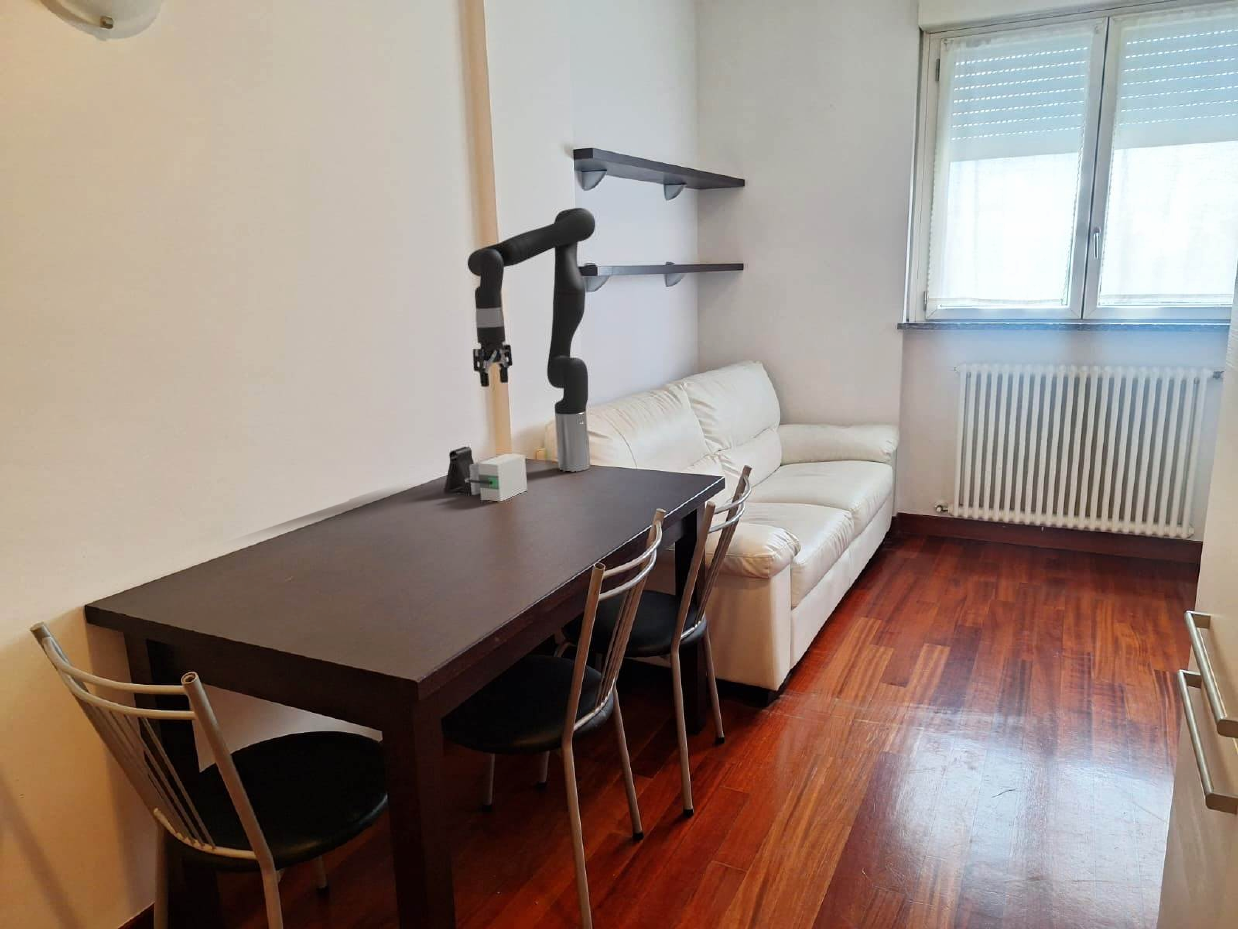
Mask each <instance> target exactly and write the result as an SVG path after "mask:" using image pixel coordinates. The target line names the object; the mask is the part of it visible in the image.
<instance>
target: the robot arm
mask: <svg viewBox="0 0 1238 929" xmlns="http://www.w3.org/2000/svg"><path fill="white" fill-rule="evenodd" d="M595 229H596V219H595V216H594V215H593V214H592V212H591V211H590V210H588V209H586V208H583V207H574V208H568V209H564V210H562V211H559V213H558V214H556V216H555V218H554V222H553V223H552V224H548V225H546V226H542V227H539V228H535V229H533V230H532V229H531V230H529V231H525V232H522V233H520V234H519V233H518V234H517V235H514V236H512V237H510V238H507V239H505V240H503V241H501V242H498V243H495V244H492V245H488V246H484V247H481V248H479V249H477V250H474V251H473V252H472V253H470V255H469V257H468V259H467V268H468V270H469V271H470V273H471V274H472V275H474V276H476V277H479V278H480V279H479V280H480V283H479V286H477V287H476V288H475V290H474V299H475V300H474V301H475V324H476V325H475V326H476V327H475V328H476V338H477V343H478V344H480V348H473V349H472V361H473V371H474V372H477V373H479V379H480V386H481V387H483V388H488V387H489V386H490V380H489V379H490V377H489V369H490V367H491V366H492V365H493V364H497V366H498V368H499V382H500V383H502V384H503V383H504V384H505V383H508V382H509V371H508V369H509V368H510V367H512V366H513V355H512V347H511V344H506V343H505V342H506V331H505V330H506V328H505V316H504V311H503V302H502V293H501V292H502V288H503V287H502V286H503V281H504V280H503V279H504V274H505V272H504V271H505V269H504V268H505V267H513V266H515V265H518V264H521V263H523V262H525V261H528V260H529V259H532V258H534V257H537V256H538V255H539V256H540V255H541V254H543V253H544V252H547V251H549V250H552V249H554V284H553V294H552V295H553V297H552V299H553V300H552V321H551V323H552V324H551V335H550V336H551V338H550V347H549V351H548V358H547V359H548V360H547V365H546V376H547V379H548V382H549V384H550V386H552V387H554V388H556V389H563V397H562V399H560V400H558V401H557V402H555V404H554V418H555V419H554V420H555V421H554V422H555V432H556V434H555V435H556V436H555V437H556V449H557V450H556V451H557V465H558V467H557V468H559V469H560V470H563V471H562V472H565V471H571V472H570V473H572V472H574V473H575V471H576V472H583V471H586V470H588V469H589V468H590V467H591V457H590V456H591V454H590V440H589V439H590V437H589V435H588V422H587V421H588V420H587V404H588V401H589V372H588V368H587V365H586V363H585V361H584V360H583V359H581V358H579V357H571V348H572V342H573V338H574V335H575V333H576V331H577V329H578V327H579V325H580V324H581V322H582V319H583V317H584V314H585V305H586V287H585V283H584V279H583V276H582V274H581V271H580V268H579V264H578V244H579V242H583V241H586V240H589V238H591V237H592V235H593V234H594V232H595ZM504 343H505V344H504ZM507 360H508V361H507ZM478 364H479V365H478ZM559 469H558V470H559ZM560 470H559V471H560ZM582 470H583V471H582Z"/></svg>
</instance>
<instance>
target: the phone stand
mask: <svg viewBox="0 0 1238 929" xmlns="http://www.w3.org/2000/svg"><path fill="white" fill-rule="evenodd" d="M472 453H473V452H472V448H471V447H470V446H463V447H460V448H457V449H453V450H450V452H449V454H448V456H449V464H448V471H447V474H446V482H445V484H444V488H443V492H444V493H445V494H451V493H460V494H459V495H461V494H467V495H466V496H472V495H473V494H472V490H471V482H465V479H468V478H470V467H469V465H471V464H474V463H475V462H474V459H473V454H472ZM468 494H469V495H468ZM471 494H472V495H471Z"/></svg>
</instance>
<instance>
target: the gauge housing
mask: <svg viewBox="0 0 1238 929" xmlns="http://www.w3.org/2000/svg"><path fill="white" fill-rule="evenodd" d="M494 457H495V458H492V457H491V458H492V459H489V458H488V459H489V460H486V459H485V460H486V461H483V460H482V461H483V462H480V461H479V462H480V463H478V468H479V480H481V481H491V482H492V484H482V483H479V485H480V491H481V493H480V500H481V501H483V500H493V501H503V500H505V501H507V500H506V499H508V498H510V497H512V496H515V495H517V494H519V493H522V494H524V493H525V492H524V491H526V490H527V491H528V482H527V469H526V468H527V467H526V455H524V454H515V453H513V454H512V453H504V454H501V455H498V456H494ZM523 492H524V493H523ZM519 495H520V494H519ZM517 496H518V495H517ZM515 497H516V496H515ZM512 498H513V497H512ZM510 499H511V498H510ZM508 500H509V499H508ZM503 502H504V501H503Z"/></svg>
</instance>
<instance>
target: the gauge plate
mask: <svg viewBox="0 0 1238 929" xmlns="http://www.w3.org/2000/svg"><path fill="white" fill-rule="evenodd" d="M495 457H496V456H492V457H489V458H486V459H483V460H480V461H477V462H474V464H471V465H469V467H470V478H468V479H465V482H471V490H472V495H473V496H474V495H475V496H476V495H479V494H481V491H480V485H479V483H482V484H492V482H491V481H481V480H479V468H478V463H480V462H483V461H486V460H489V459H492V458H495Z"/></svg>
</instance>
